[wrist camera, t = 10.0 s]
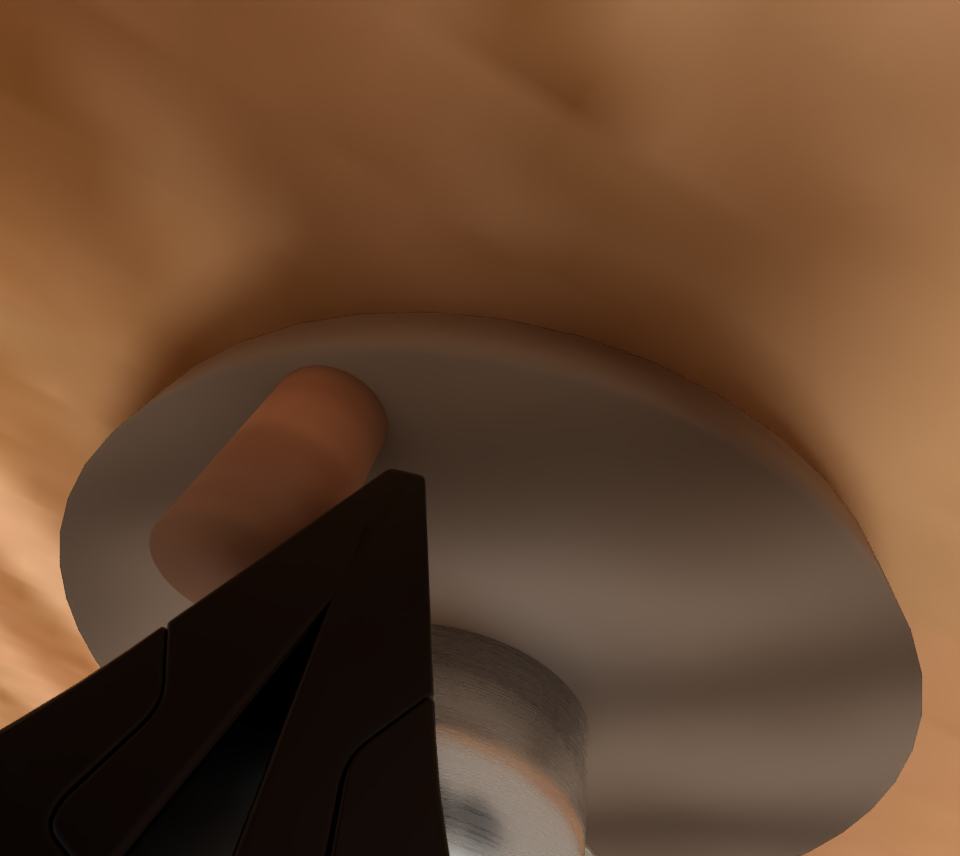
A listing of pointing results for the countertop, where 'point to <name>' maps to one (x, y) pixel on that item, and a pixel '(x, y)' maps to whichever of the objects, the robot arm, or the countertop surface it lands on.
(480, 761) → the aluminium cover
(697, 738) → the turntable
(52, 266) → the countertop surface
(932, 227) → the countertop surface
